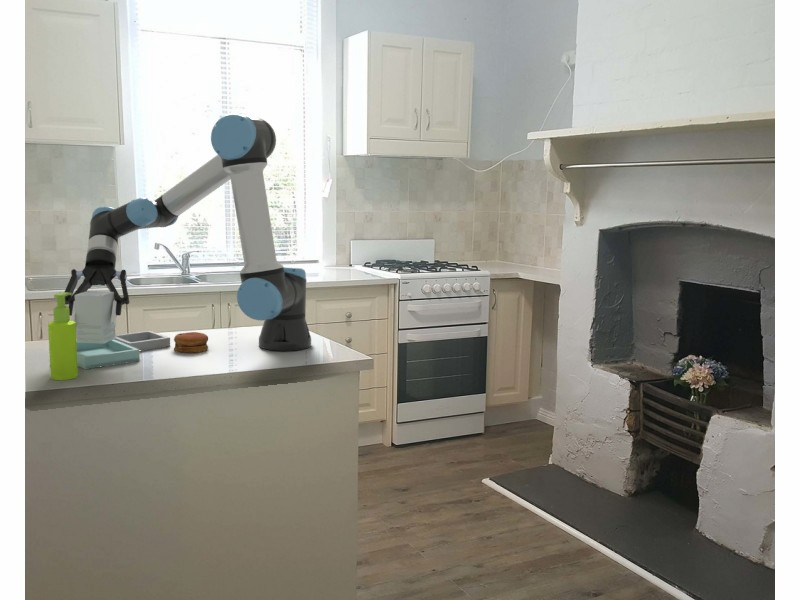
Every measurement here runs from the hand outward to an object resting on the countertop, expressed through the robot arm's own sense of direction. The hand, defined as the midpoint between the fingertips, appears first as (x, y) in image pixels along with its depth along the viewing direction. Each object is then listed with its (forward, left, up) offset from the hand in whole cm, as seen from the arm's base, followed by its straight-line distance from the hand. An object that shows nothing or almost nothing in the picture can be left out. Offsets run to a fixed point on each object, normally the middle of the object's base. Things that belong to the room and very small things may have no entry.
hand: (93, 324), depth 184 cm
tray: (+2, -2, -10) cm, 10 cm away
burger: (-3, -26, -10) cm, 28 cm away
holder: (+9, -17, -10) cm, 22 cm away
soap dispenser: (-10, +11, -10) cm, 18 cm away
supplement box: (+3, -2, -5) cm, 6 cm away
